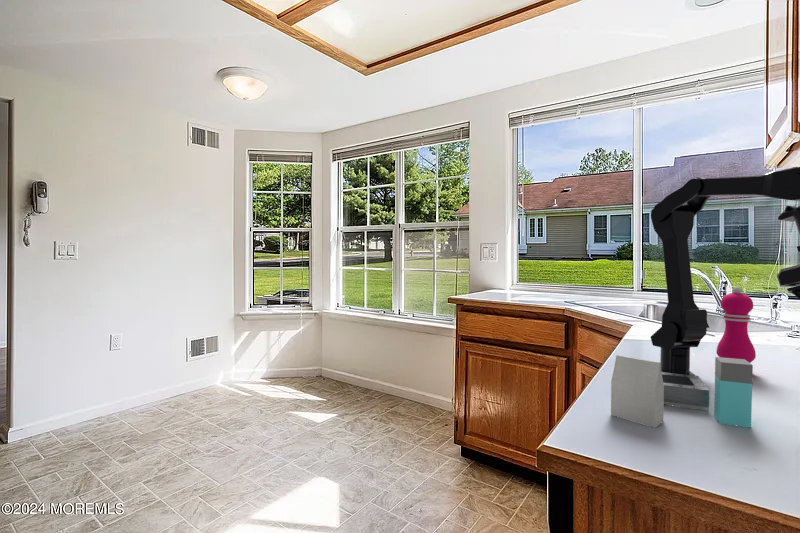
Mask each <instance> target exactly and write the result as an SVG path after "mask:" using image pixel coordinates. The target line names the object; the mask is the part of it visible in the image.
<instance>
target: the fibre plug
mask: <svg viewBox="0 0 800 533" xmlns="http://www.w3.org/2000/svg"><path fill="white" fill-rule="evenodd" d="M714 360H715V361H714V407H713V408H714V409H713V412H714V413H713V416H714V417H715V419H716V421H718V423H719V424H720V425H725V424H727V426H732V425H737V426H736V427H740V426H743V427H742V428H747V427H751V428H752V406H753V404H752V403H753V399H752V398H753V373H752V369H754V367H753V366H754V365H753V364H752V362H751V363H749V362H748V361H746V360H745V359H734V358H723V357H719V356H715V358H714Z"/></svg>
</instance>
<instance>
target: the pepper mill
mask: <svg viewBox="0 0 800 533" xmlns="http://www.w3.org/2000/svg"><path fill="white" fill-rule="evenodd" d="M731 291H732V293H727V294H725V295H724V296H723V297H722V298H721V299H720V307H721V309H722V310H723V311H724V313H722V315H723V318H722V319H723V320H724V322H725V327H724V332H723V335H722V336H721V338H720V340H719V342H718V343H717V346H716V355H717V357H723V358H734V359H745V360H746V361H748V362H749V363H751V364H752V362H754V361H755V359H756V356H757V354H756V350H755V346H754V344H753V343H752V341H751V339H750V337H749V332H748V331H749V330H748V325H749V322H750V321H751V315H750V312H751V311H753V309H754V302H753V299H752V298H751V297H750V296H749V295H747V294H745V293H742V292H743V290H742V288H741V287H740V286H737V285H736V286H734V287H732V290H731ZM753 369H754V368H753ZM753 369H752V374H753Z"/></svg>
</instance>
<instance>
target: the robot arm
mask: <svg viewBox="0 0 800 533" xmlns="http://www.w3.org/2000/svg"><path fill="white" fill-rule="evenodd" d="M724 196H725V197H726V196H727V197H728V196H729V197H730V196H732V197H734V196H739V197H740V196H741V197H742V196H743V197H744V196H745V197H748V196H754V197H755V196H763V197H767V198H773V199H778V200H779V199H780V200H784V201H797V202H798V201H799V202H800V166H795V167H794V166H793V167H789V168H788V167H787V168H784V169H778V170H773V171H771V172H768V173H765V174H759V175H748V176H747V175H746V176H745V175H744V176H727V177H726V176H725V177H724V176H723V177H693V178H691V179H689V180H688V181H686V183H684V185H683V186H681V187H680V188H678V189H677V190H674V191H672V192H671V193H669V194H668V195H667V196H665V197H664V198H663V199H662V200H661V201H660V202H658V203H657V204H655V206H654V207H653V208H651V211H650V220H651V223H652V227H653V230H654V232H655V233H656V234H657V236H658V237H659V239H660V240H661V242H662V253H663V261H664V273H665V274H664V275H665V284H666V293H667V305H666V307H665V309H664V311H663V313H662V316H661V326H660V327H659V329H657V330H656V331H655V332H654V333H653V334H652V335H650V340H651V344H652V346H654V347H657V348H660V354H659V356H660V360H659V361H660V363H661V372H665V373H675V374H685V375H695V376H696V374H695V373H694V372H692V371H691V370H690V366H691V348H698V347H699V345H700V342H701V341H702V339H703V338H704V337H706V334H707V330H708V329H709V328H710V326H709V323H708V312H707V310H706V308H705V309H702V308H701V309H700V308H699V306H698V305H697V304H696V303H695V299H694V289H693V287H694V286H693V279H692V271H691V270H692V269H691V260H690V259H691V258H690V252H689V250H690V249H689V241H688V240H689V237H690V235H691V232H692V230H693V229H694V224H695V223H694V222H695V216H696V215H697V214H699V213H700V212H701V211H702V210H703V209H704V207H705V205H706V203H707V201H708V200H709V199H710V198H711V197H724ZM777 219H778V220H779V221H784V222H790V223H791V222H792V223H793V222H795V225H796V227H797V228H796V229H797V231H798V234H799V236H800V206H793V205H786V206H785V209H784V210H783V211H782V212H781V213H780V215H779V216H778V217H777ZM796 250H797V251H798V253H800V245H798V246H796ZM776 278H777V281H778V284H779V287H782V288H783V287H785V288H786V291H788V293H792V294H793V295H794V296H795V297H796V298H798V300H800V263H799V264H796V265H795V264H794V265H791V266H788V267H784V268H780V270H779V272H778V273H777V274H776Z"/></svg>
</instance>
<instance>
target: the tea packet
mask: <svg viewBox="0 0 800 533" xmlns="http://www.w3.org/2000/svg"><path fill="white" fill-rule="evenodd" d="M610 382H611V383H610V384H611V387H610V416H612V415H613V416H612V417H615V416H617V418H619V417H620V419H622V418H623V420H626V419H627V421H629V422H630V421H631V422H633V421H635V422H634V423H637V422H638V423H637V424H640V423H642V424H641V425H644V424H645V425H644V426H647V425H648V426H647V427H651V426H652V427H651V428H654V427H655V428H656V427H657V425H658V426H659V425H660V423H661V422H662V423H664V406H665V405H664V384H663V378H662V372H661V363H660V362H658V361H654V360H649V359H648V360H647V359H641V358H636V357H630V356H627V355H626V356H624V355H618V354H617V355H615V361H614V368H613V372H612V376H611V381H610ZM662 423H661V424H662Z"/></svg>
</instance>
